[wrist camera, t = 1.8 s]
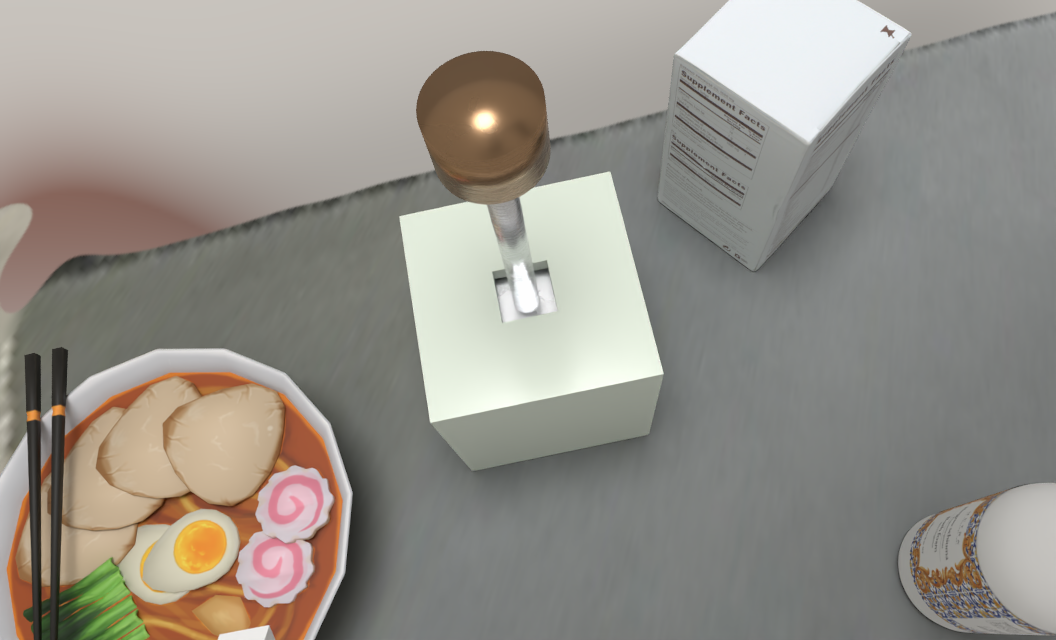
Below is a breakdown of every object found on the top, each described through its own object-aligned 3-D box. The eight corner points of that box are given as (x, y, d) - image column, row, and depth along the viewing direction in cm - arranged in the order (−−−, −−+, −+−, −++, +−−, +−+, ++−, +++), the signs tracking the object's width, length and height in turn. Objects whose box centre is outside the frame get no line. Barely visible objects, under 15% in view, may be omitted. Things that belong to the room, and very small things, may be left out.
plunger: (591, 217, 46) (584, -28, 29) (628, 366, 43) (645, 192, 26) (435, 250, 46) (334, 26, 29) (460, 401, 43) (363, 252, 26)
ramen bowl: (409, 715, 49) (373, 732, 41) (43, 788, 49) (-60, 818, 42) (363, 335, 58) (327, 291, 50) (55, 399, 58) (-28, 365, 51)
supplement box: (733, 117, 62) (778, -57, 46) (835, 186, 59) (920, 26, 43) (652, 201, 60) (669, 51, 44) (753, 277, 57) (810, 145, 41)
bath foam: (919, 493, 51) (1102, 417, 32) (1031, 548, 49) (1294, 503, 30) (877, 594, 49) (1046, 576, 30) (992, 655, 47) (1246, 677, 29)
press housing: (608, 273, 58) (610, 171, 45) (648, 434, 54) (663, 373, 40) (445, 307, 58) (399, 216, 45) (472, 471, 54) (430, 422, 41)
